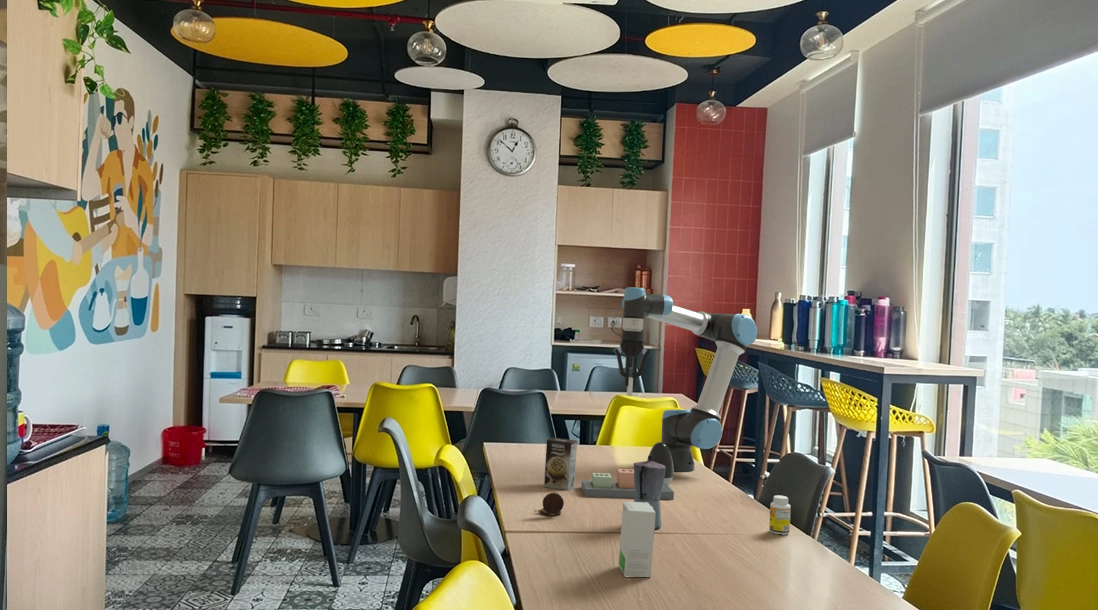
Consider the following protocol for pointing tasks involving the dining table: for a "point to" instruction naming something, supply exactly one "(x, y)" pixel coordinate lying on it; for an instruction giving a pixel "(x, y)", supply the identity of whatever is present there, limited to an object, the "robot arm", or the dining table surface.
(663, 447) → the pump dispenser
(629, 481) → the terracotta key
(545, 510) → the compass
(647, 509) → the skincare box
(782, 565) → the dining table surface
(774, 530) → the supplement bottle
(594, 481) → the sage key
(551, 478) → the coffee box
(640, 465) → the moka pot
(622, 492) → the keypad board
